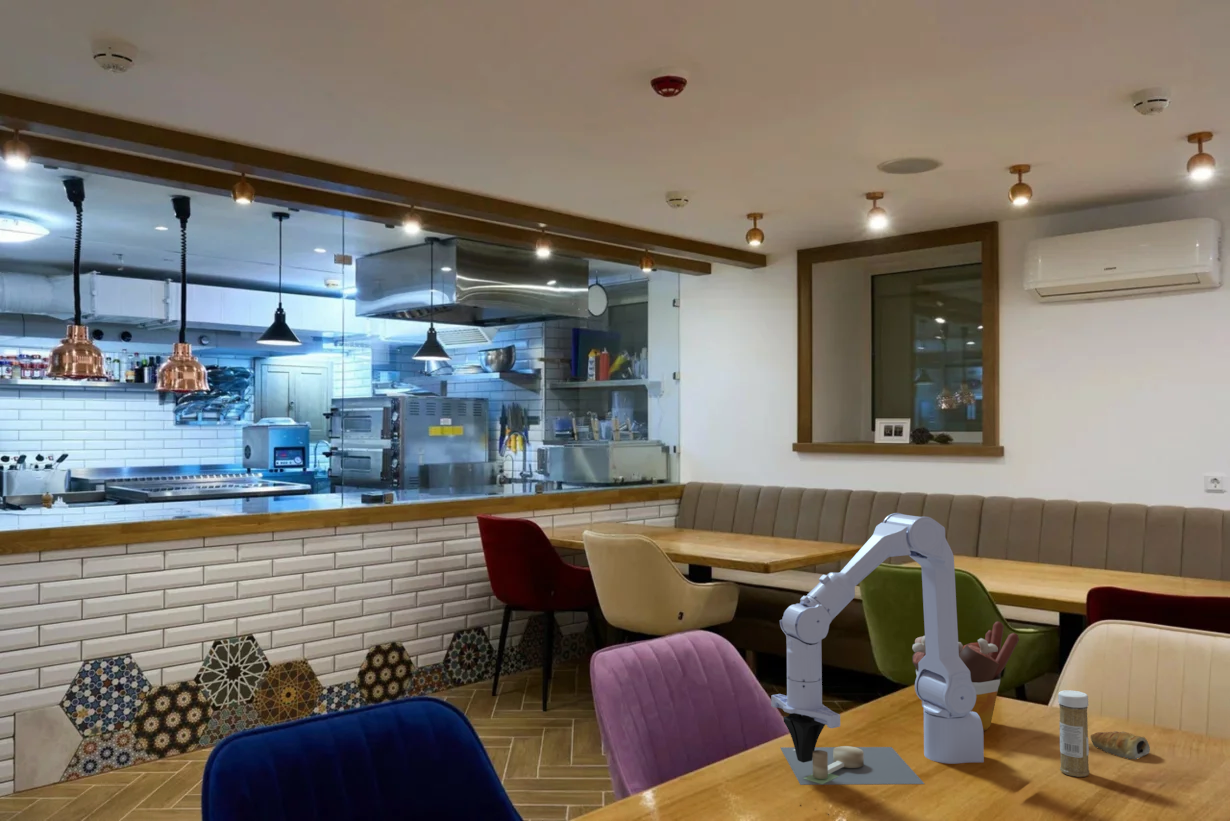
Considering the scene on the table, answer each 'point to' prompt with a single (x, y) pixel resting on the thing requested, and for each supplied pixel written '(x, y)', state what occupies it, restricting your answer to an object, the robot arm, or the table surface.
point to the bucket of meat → (980, 666)
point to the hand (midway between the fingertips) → (804, 760)
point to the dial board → (877, 768)
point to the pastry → (1121, 744)
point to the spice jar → (1074, 733)
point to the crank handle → (836, 760)
